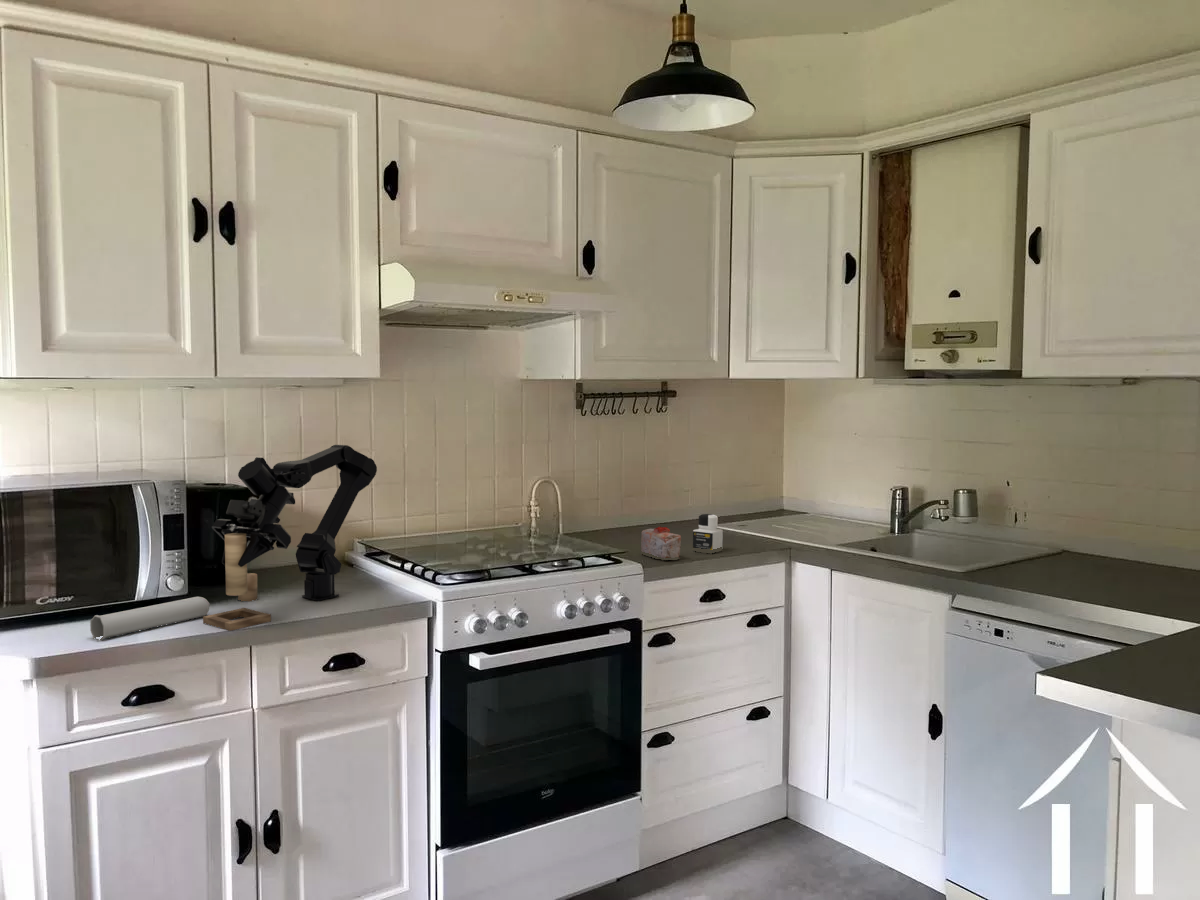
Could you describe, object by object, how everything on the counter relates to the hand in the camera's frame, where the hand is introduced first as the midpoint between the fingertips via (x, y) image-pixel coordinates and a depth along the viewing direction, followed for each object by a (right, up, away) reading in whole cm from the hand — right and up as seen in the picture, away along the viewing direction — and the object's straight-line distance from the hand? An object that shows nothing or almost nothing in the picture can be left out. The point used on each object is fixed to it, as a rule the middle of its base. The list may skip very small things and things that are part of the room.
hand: (231, 564), depth 200 cm
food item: (+99, -9, +82) cm, 129 cm away
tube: (-16, -13, -2) cm, 21 cm away
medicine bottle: (+114, -8, +94) cm, 148 cm away
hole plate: (0, -13, +2) cm, 13 cm away
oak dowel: (0, -6, +2) cm, 7 cm away
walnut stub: (-5, -11, +23) cm, 26 cm away
